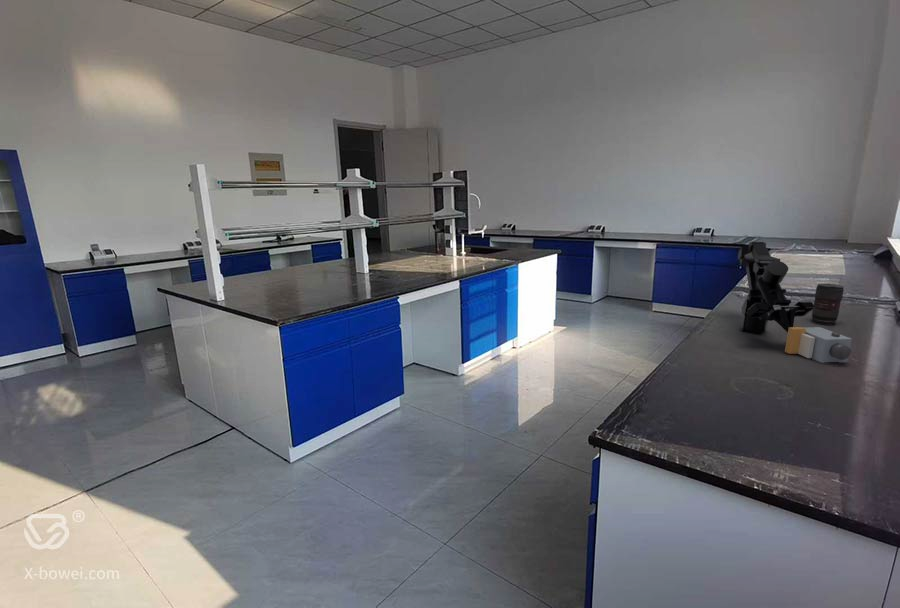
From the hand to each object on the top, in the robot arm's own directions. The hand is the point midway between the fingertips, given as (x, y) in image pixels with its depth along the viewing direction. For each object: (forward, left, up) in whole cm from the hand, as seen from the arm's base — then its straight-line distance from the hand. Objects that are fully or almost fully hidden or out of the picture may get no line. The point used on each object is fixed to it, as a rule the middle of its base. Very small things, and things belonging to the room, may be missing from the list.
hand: (790, 332), depth 145 cm
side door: (+3, -1, -6) cm, 7 cm away
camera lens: (0, +48, -7) cm, 48 cm away
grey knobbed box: (+8, +3, -7) cm, 11 cm away
